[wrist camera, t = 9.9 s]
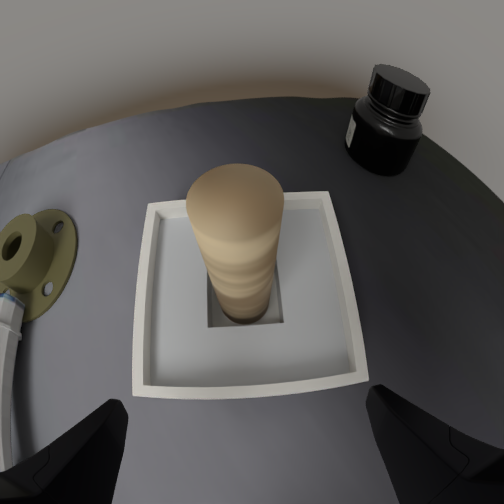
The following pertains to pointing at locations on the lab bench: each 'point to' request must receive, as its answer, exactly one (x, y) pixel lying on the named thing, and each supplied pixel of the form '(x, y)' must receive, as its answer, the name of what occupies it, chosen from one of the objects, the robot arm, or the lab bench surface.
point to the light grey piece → (8, 369)
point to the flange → (37, 259)
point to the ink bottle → (387, 121)
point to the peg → (238, 235)
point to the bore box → (248, 335)
